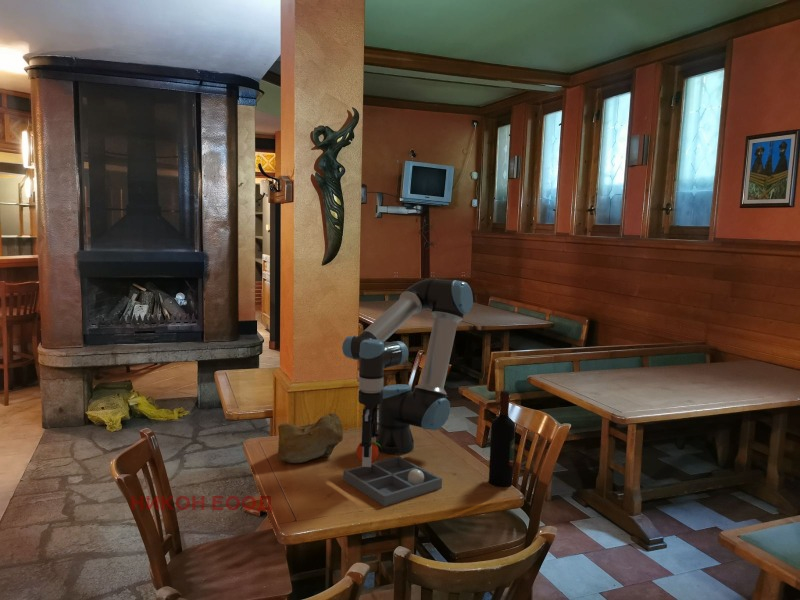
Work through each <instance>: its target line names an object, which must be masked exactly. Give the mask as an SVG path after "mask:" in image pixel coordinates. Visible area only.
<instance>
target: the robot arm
mask: <svg viewBox="0 0 800 600" xmlns="http://www.w3.org/2000/svg"><path fill="white" fill-rule="evenodd" d="M473 305H474V296H473V292H472V289H471V287H470V285H469V284H468V282H466V281H462V280H457V279H453V280H452V279H439V278H426V279H422V280H420V281H417V282H415V283H414V284H413V285H411V286H409V287H408V288H406V289H405V290H404V291H403V292H402V293H400V295H399V299H398V300H396V302H394V303H393V304H392V305H391V306H390V307H389V308H387V310H385V311H384V312H383V313H382V314H381V315H380V316H378V318H376V319H375V320H374V321H373V322H371V324H370V325H369V326H368V327H366V328H365V329H364V330H362V332H361V333H360V334H358V336H356V335H350V336H347V337H345V339H344V340H343V341H342V344H341V345H342V347H341V349H342V353H343V355H344V356H345V357H346V358H349V359H352V360H354V361H359V365H358V367H359V368H358V369H359V372H358V378H357V379H356V381H357V382H359V383H358V389H359V390H358V399H357V400H358V403H360V404H361V405H364V408H363V409H362V415H361V416H362V417H361V418H362V421H361V422H362V423H361V424H362V428H361V442H362V444H360V443H359V444H360V446H362V447H363V450H362V461H361V466H363V467H371V463H372V462H371V455H372V446H371V441H374V442H376V443H378V444H379V445H380V446H381V447H380V446H379V445H378V444H376V443H375V444H376V445H377V447H378V452H379V453H382V454H385V455H386V454H387V455H404V454H407V453H410V452H411V451H412V452H413V450H414V449H415V448H414V447H415V441H414V437H413V433H412V431H411V426H414V427H418V428H421V429H424V430H431V431H437V430H439V429H442V427H443V426H445V424H446V423H447V420H448V418H449V417H450V413H451V403H450V401H449V400H448V399H447V395H448V393H447V392H446V390H445V388H444V387H445V383H446V379H447V375H448V369H449V364H450V360H451V355H452V352H453V346H454V341H455V336H456V332H457V327H458V324H459V323H460V322H462V321H463V319H464V315H467V314H469V313H470V312H471V310H472V308H473ZM425 310H430V311H431V315H432V317H433V323H432V328H431V332H430V336H429V341H428V346H427V350H426V356H425V358H424V359H425V360H424V364H423V369H422V373H421V376H420V382H419V383H418V384H417V385H415V386H414V390H413V391H412V386H411V385H410V384H404V383H403V384H402V383H400V384H399V383H397V384H389V385H385V386H384V379H385V378H384V369H387V368H390V367H395V366H399V365H401V364H403V363H405V362H406V361H407V360H408V357H409V349H408V346H407V345H406V344H405V342H403V341H400V340H397V341H395V340H393V341H391V342H390V341H387V340H388V339H389V338H390V337H391V336H392V335H393V334H394V333H395V332H396V331H398V329H400V328H401V327H402V326H403V325H404V324H405V323H406V322H407V321H408V320H409V319H410V318H411V317H412V316H413V315H418V314H420V312H422V311H425ZM381 448H382V449H381Z"/></svg>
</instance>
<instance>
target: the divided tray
mask: <svg viewBox="0 0 800 600" xmlns="http://www.w3.org/2000/svg"><path fill="white" fill-rule="evenodd" d="M413 469H418V470H420V471H422V472H423V474H424V482H423V483H421V484H417V485H412V484H410V483H409V482H408V474H409V472H410V471H411V470H413ZM342 473H343V476H342V477H343V478H342V481H344V482H346V483H348V484H349V485H350V486H353V487H354V488H355V490H356V489H357V490H358V491H359V492H361V493H363V494H364V495H365V496H367V497H369V498H371V499H372V500H373V501H375V502H376V503H378V504H379V505H381V506H383V507H387V506H390V505H394V504H397V503H399V502H403V501H407V500H409V499H412V498H416V497H418V496H421V495H424V494H428V493H431V492H433V491H437V490H440V489H442V488H443V478H442V477H440V476H438V475H436V474H434V473H433V472H430V471H428V470H427V469H425V468H423V467H420V466H418V465H416V464H415V463H413V462H411V461H409V460H407V459H405V458H403V457H401V456H400V455H398V456H394V457H390V458H387V459H383V460H379V461H376V462H371V467H363V466H362V465H360V466H356V467H353V468H349V469H345V470H343V472H342Z"/></svg>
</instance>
